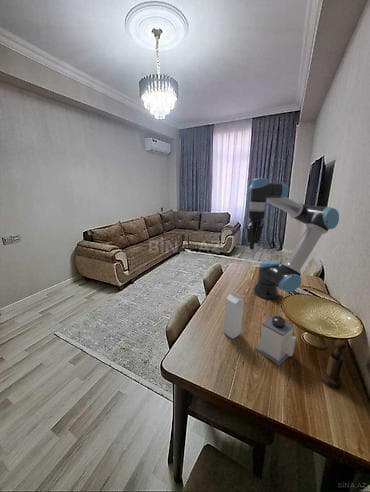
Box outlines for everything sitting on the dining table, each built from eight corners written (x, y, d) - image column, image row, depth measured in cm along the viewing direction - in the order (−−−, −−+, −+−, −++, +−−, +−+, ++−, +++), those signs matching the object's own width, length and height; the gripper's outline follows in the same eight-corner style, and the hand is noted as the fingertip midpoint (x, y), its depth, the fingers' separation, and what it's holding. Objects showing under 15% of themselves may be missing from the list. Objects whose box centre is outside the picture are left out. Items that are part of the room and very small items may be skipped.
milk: (232, 339, 99) (236, 297, 93) (222, 332, 103) (225, 292, 97) (240, 334, 102) (244, 293, 96) (231, 327, 107) (234, 288, 101)
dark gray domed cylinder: (271, 340, 95) (275, 313, 91) (284, 347, 91) (288, 320, 87) (264, 346, 92) (268, 318, 88) (277, 354, 87) (282, 325, 83)
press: (268, 339, 99) (272, 313, 96) (296, 355, 90) (301, 328, 86) (255, 349, 93) (259, 323, 89) (284, 369, 83) (289, 339, 79)
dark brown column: (316, 373, 81) (325, 334, 76) (331, 372, 82) (342, 333, 77) (329, 389, 75) (340, 348, 70) (345, 388, 75) (358, 347, 70)
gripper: (257, 209, 112) (253, 250, 119) (243, 210, 104) (239, 255, 111) (270, 210, 107) (265, 254, 113) (256, 212, 99) (251, 259, 105)
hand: (252, 254), depth 112 cm, fingers closed
